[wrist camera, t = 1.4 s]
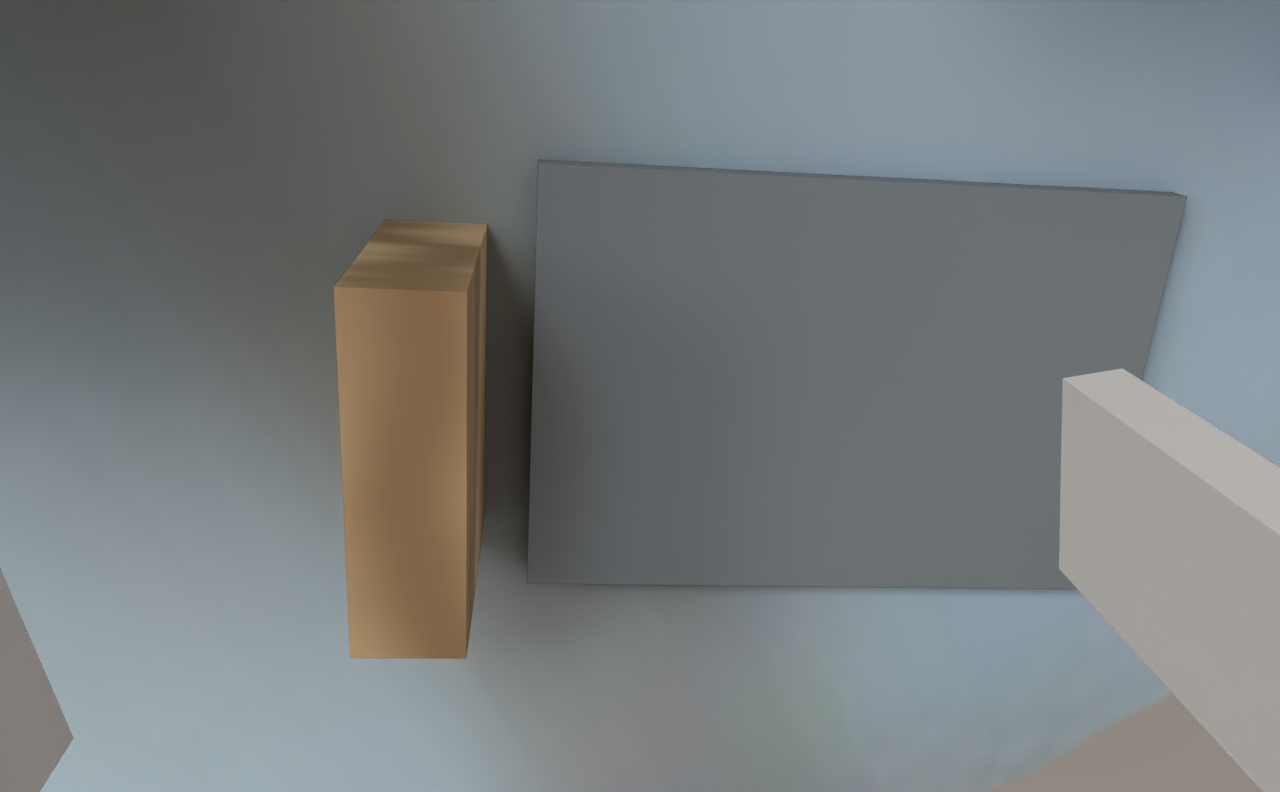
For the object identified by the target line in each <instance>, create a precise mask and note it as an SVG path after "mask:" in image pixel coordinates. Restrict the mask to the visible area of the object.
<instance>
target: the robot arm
mask: <svg viewBox="0 0 1280 792" xmlns="http://www.w3.org/2000/svg"><path fill="white" fill-rule="evenodd" d="M1059 569H1060V570H1061V571H1062V573H1063V574H1064V575H1065V576H1066V577H1067V578H1068V579H1069V580H1070V581H1071V582H1072V583H1073V585H1074V586H1075V587H1076V588H1077V589H1078V590H1079V591H1080V592H1081V593H1082V594H1083V595H1084V597H1085V598H1086V599H1087V600H1088V601H1089V602H1090V603H1091V604H1092V605H1093V606H1094V608H1095V609H1096V610H1097V611H1098V612H1099V613H1100V614H1101V615H1102V616H1103V617H1104V618H1105V620H1106V621H1107V622H1108V623H1109V624H1110V625H1111V626H1112V627H1113V628H1114V629H1115V631H1116V632H1117V633H1118V634H1119V635H1120V636H1121V637H1122V638H1123V639H1124V640H1125V641H1126V643H1127V644H1128V645H1129V646H1130V647H1131V648H1132V649H1133V650H1134V651H1135V652H1136V653H1137V655H1138V656H1139V657H1140V658H1141V659H1142V660H1143V661H1144V662H1145V663H1146V664H1147V666H1148V667H1149V668H1150V669H1151V670H1152V671H1153V672H1154V673H1155V674H1156V675H1157V676H1158V678H1159V679H1160V680H1161V681H1162V682H1163V683H1164V684H1165V685H1166V686H1167V687H1168V689H1169V690H1170V691H1171V692H1172V693H1173V694H1174V695H1175V696H1176V697H1177V698H1178V699H1179V700H1180V702H1181V703H1182V704H1183V705H1184V706H1185V707H1186V708H1187V709H1188V710H1189V711H1190V713H1191V714H1193V716H1194V717H1195V718H1196V719H1197V720H1198V721H1199V722H1200V724H1201V725H1202V726H1204V728H1205V729H1206V730H1207V731H1208V732H1209V733H1210V734H1211V735H1212V737H1213V738H1214V739H1215V740H1216V741H1217V742H1218V743H1219V744H1220V745H1221V746H1222V748H1223V749H1224V750H1225V751H1226V752H1227V753H1228V754H1229V755H1230V756H1231V757H1232V758H1233V760H1234V761H1235V762H1236V763H1237V764H1238V765H1239V766H1240V767H1241V768H1242V769H1243V771H1244V772H1245V773H1246V774H1247V775H1248V776H1249V777H1250V778H1251V779H1252V780H1253V782H1254V783H1255V784H1256V785H1257V786H1258V787H1259V788H1260V789H1261V790H1262V791H1263V792H1280V468H1279V467H1278V466H1276V465H1275V464H1273V463H1272V462H1270V461H1268V460H1267V459H1265V458H1264V457H1262V456H1260V455H1259V454H1257V453H1256V452H1254V451H1253V450H1251V449H1249V448H1248V447H1246V446H1245V445H1243V444H1241V443H1240V442H1238V441H1237V440H1235V439H1234V438H1232V437H1230V436H1229V435H1227V434H1226V433H1224V432H1222V431H1221V430H1219V429H1218V428H1216V427H1215V426H1213V425H1211V424H1210V423H1208V422H1207V421H1205V420H1203V419H1202V418H1200V417H1199V416H1197V415H1196V414H1194V413H1192V412H1191V411H1189V410H1188V409H1186V408H1184V407H1183V406H1181V405H1180V404H1178V403H1177V402H1175V401H1173V400H1172V399H1170V398H1169V397H1167V396H1165V395H1164V394H1162V393H1161V392H1159V391H1158V390H1156V389H1154V388H1153V387H1151V386H1150V385H1148V384H1146V383H1145V382H1143V381H1142V380H1140V379H1139V378H1137V377H1135V376H1134V375H1132V374H1131V373H1129V372H1127V371H1126V370H1124V369H1123V368H1122V369H1116V370H1109V371H1103V372H1097V373H1091V374H1085V375H1079V376H1073V377H1067V378H1062V433H1061V487H1060V542H1059ZM72 740H73V736H72V733H71V731H70V729H69V727H68V724H67V722H66V720H65V717H64V715H63V713H62V710H61V708H60V706H59V703H58V701H57V699H56V696H55V694H54V692H53V690H52V687H51V685H50V683H49V680H48V678H47V676H46V673H45V671H44V669H43V666H42V664H41V662H40V660H39V657H38V655H37V653H36V650H35V648H34V646H33V643H32V641H31V639H30V636H29V634H28V632H27V630H26V627H25V625H24V623H23V620H22V618H21V616H20V613H19V611H18V609H17V606H16V604H15V602H14V600H13V597H12V595H11V593H10V590H9V588H8V586H7V583H6V581H5V579H4V576H3V574H2V572H1V569H0V792H40V790H41V789H42V787H43V786H44V784H45V782H46V781H47V779H48V778H49V776H50V774H51V773H52V771H53V770H54V768H55V767H56V765H57V763H58V762H59V760H60V759H61V757H62V755H63V754H64V752H65V751H66V749H67V748H68V746H69V744H70V743H71V741H72Z"/></svg>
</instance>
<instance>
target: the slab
mask: <svg viewBox="0 0 1280 792" xmlns="http://www.w3.org/2000/svg"><path fill="white" fill-rule="evenodd" d="M486 286H487V224H474V223H452V222H429V221H407V220H385V222H384V223H383V224H382V226H381V227H380V228H379V229H378V231H377V232H376V233H375V235H374V236H373V237H372V238H371V240H370V241H369V242H368V244H367V245H366V246H365V247H364V249H363V250H362V251H361V253H360V254H359V255H358V256H357V258H356V259H355V260H354V262H353V263H352V264H351V265H350V267H349V268H348V269H347V270H346V272H345V273H344V274H343V276H342V277H341V278H340V279H339V281H338V282H337V283H336V285H335V286H334V308H335V330H336V352H337V374H338V396H339V418H340V440H341V462H342V484H343V506H344V528H345V550H346V572H347V595H348V617H349V639H350V658H466V656H467V649H468V641H469V633H470V625H471V618H472V610H473V602H474V595H475V587H476V579H477V572H478V564H479V556H480V549H481V541H482V533H483V525H484V509H485V397H486Z"/></svg>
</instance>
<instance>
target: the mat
mask: <svg viewBox="0 0 1280 792" xmlns="http://www.w3.org/2000/svg"><path fill="white" fill-rule="evenodd" d="M1186 199H1187V196H1183V195H1180V194H1176V193H1173V192H1157V191H1138V190H1118V189H1099V188H1079V187H1060V186H1040V185H1021V184H1001V183H981V182H962V181H942V180H923V179H903V178H884V177H864V176H845V175H825V174H806V173H786V172H766V171H747V170H727V169H708V168H688V167H669V166H649V165H630V164H610V163H591V162H571V161H552V160H538V192H537V230H536V268H535V306H534V344H533V383H532V421H531V459H530V497H529V535H528V573H527V584H620V585H723V586H826V587H929V588H1032V589H1077V588H1076V587H1075V586H1074V585H1073V583H1072V582H1071V581H1070V580H1069V579H1068V578H1067V577H1066V576H1065V575H1064V574H1063V573H1062V571H1061V570H1060V569H1059V542H1060V487H1061V433H1062V378H1067V377H1073V376H1079V375H1085V374H1091V373H1097V372H1103V371H1109V370H1116V369H1122V368H1123V369H1124V370H1126V371H1127V372H1129V373H1131V374H1132V375H1134V376H1135V377H1137V378H1139V379H1140V380H1141V379H1142V375H1143V371H1144V367H1145V363H1146V359H1147V355H1148V351H1149V347H1150V343H1151V339H1152V335H1153V331H1154V327H1155V323H1156V319H1157V315H1158V311H1159V307H1160V303H1161V299H1162V295H1163V291H1164V287H1165V283H1166V279H1167V275H1168V271H1169V267H1170V263H1171V259H1172V255H1173V251H1174V247H1175V243H1176V239H1177V235H1178V231H1179V227H1180V223H1181V219H1182V215H1183V211H1184V207H1185V203H1186Z"/></svg>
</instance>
